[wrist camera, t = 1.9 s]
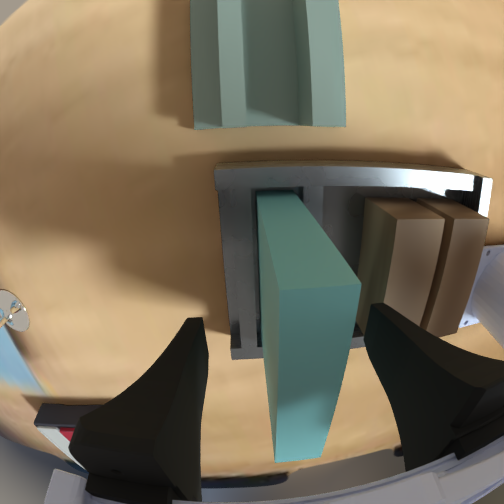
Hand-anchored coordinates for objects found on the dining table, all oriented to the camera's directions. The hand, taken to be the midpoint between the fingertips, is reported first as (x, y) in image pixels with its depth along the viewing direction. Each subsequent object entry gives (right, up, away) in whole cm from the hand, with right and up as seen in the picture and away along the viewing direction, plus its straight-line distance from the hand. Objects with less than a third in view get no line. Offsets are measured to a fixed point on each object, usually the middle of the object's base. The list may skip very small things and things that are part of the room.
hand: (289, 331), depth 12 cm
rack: (+5, +3, +7) cm, 9 cm away
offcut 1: (+7, +3, +6) cm, 9 cm away
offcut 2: (+10, +3, +6) cm, 12 cm away
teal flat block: (0, +3, +6) cm, 6 cm away
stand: (-1, +14, +2) cm, 14 cm away
